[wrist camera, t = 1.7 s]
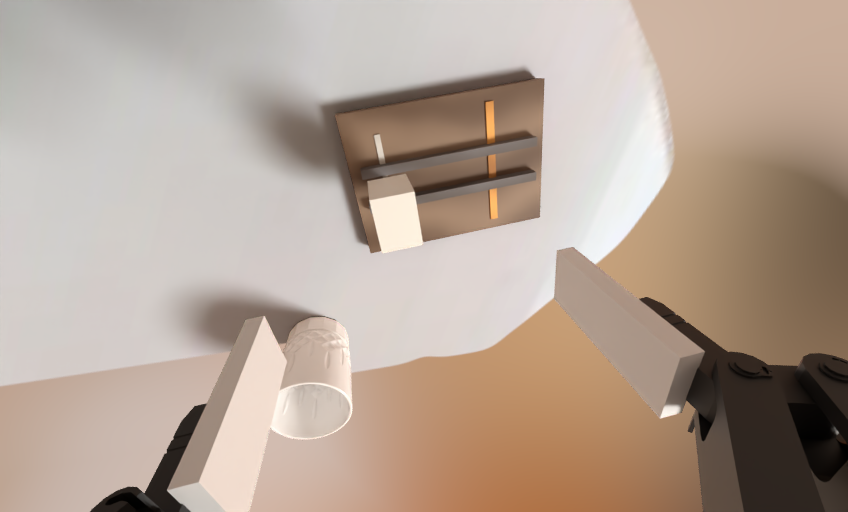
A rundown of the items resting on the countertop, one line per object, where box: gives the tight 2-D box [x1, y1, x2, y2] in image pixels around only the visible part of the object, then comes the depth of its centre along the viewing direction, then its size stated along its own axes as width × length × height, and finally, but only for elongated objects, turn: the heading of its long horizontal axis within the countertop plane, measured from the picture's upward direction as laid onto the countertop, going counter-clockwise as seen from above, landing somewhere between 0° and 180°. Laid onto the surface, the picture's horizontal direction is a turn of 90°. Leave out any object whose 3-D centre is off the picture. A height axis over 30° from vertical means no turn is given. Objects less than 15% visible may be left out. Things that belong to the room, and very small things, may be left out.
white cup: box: [270, 317, 352, 439], centre depth 35 cm, size 8×8×10 cm
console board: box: [335, 78, 544, 253], centre depth 31 cm, size 13×18×2 cm
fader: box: [367, 174, 423, 253], centre depth 26 cm, size 4×3×8 cm
